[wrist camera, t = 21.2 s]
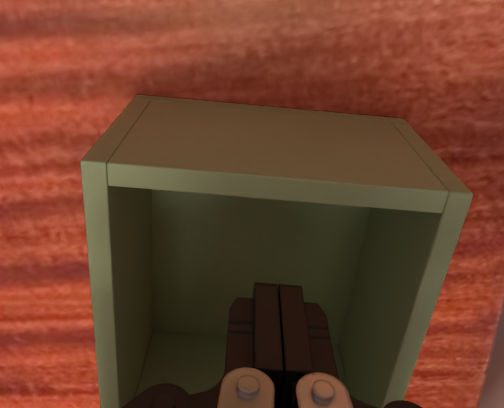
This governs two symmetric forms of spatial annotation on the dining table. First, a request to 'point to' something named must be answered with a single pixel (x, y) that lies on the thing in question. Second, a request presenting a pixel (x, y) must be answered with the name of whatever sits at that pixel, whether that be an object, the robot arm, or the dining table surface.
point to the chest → (262, 237)
